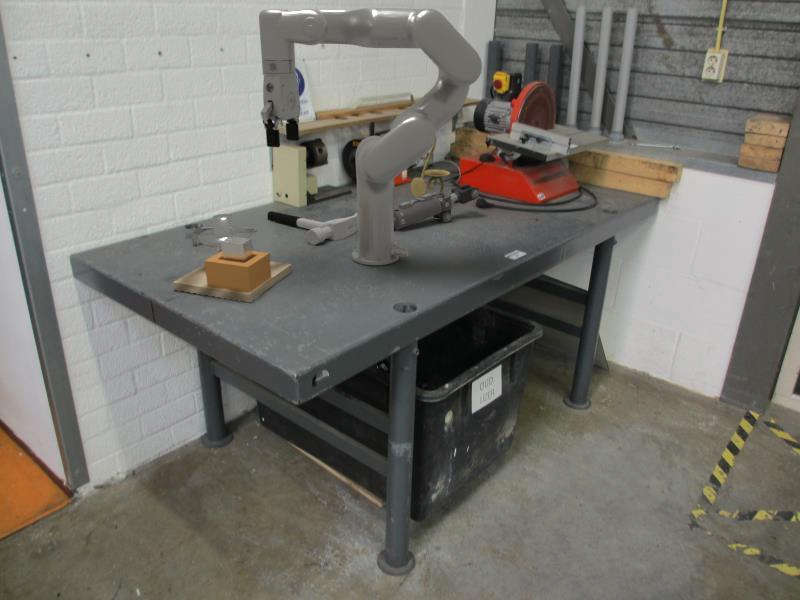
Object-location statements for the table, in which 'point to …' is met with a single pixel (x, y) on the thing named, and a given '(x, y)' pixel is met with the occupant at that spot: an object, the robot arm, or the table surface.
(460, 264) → the table surface
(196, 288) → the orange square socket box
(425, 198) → the hydraulic cylinder
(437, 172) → the wall sconce
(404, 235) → the table surface
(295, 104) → the robot arm
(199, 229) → the grey small pieces
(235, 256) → the grey upright block
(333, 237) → the claw hammer
